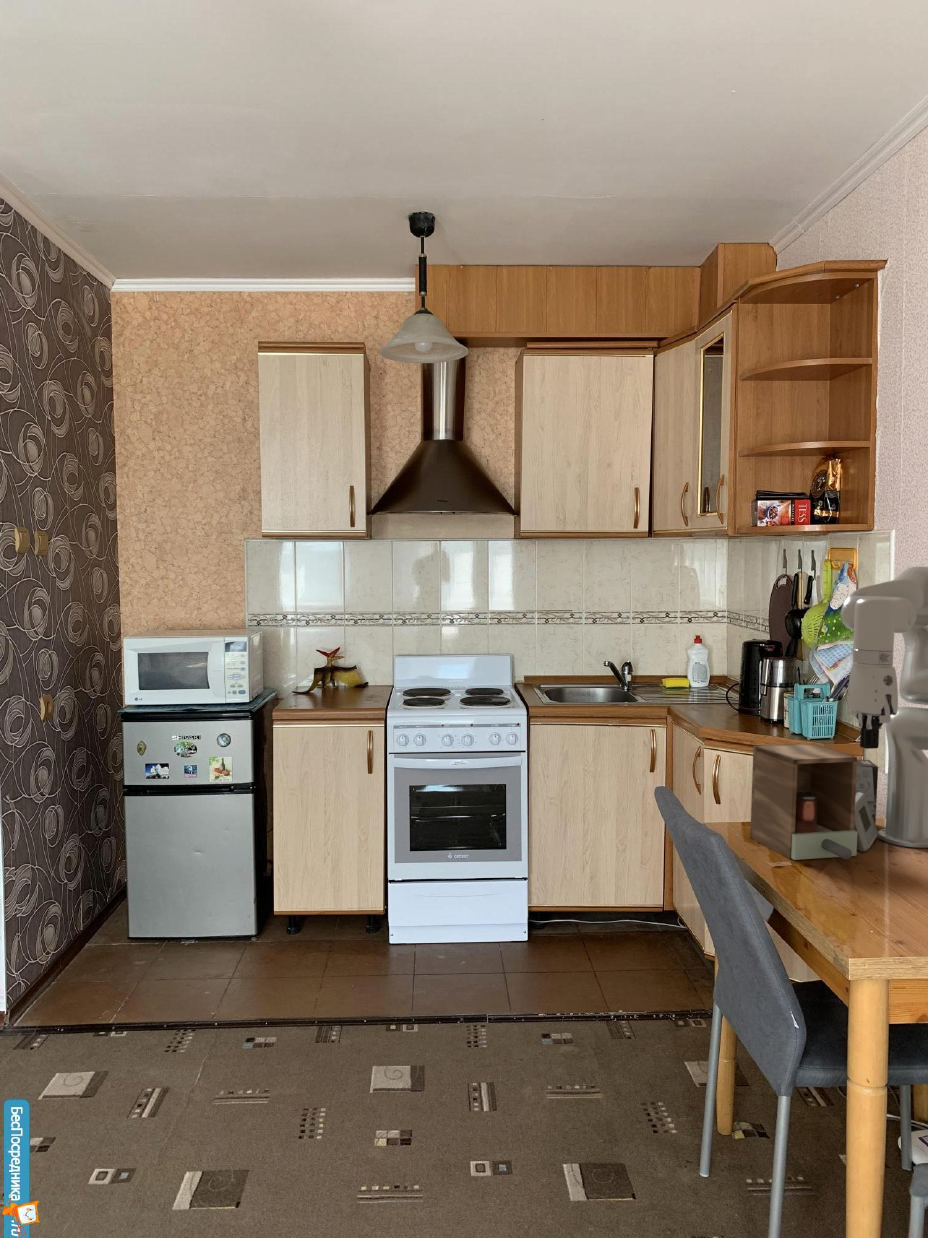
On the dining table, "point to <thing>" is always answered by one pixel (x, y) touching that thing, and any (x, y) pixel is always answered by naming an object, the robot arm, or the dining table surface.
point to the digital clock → (864, 823)
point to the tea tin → (806, 812)
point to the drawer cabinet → (799, 790)
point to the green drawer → (824, 844)
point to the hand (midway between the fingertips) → (869, 747)
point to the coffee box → (867, 783)
